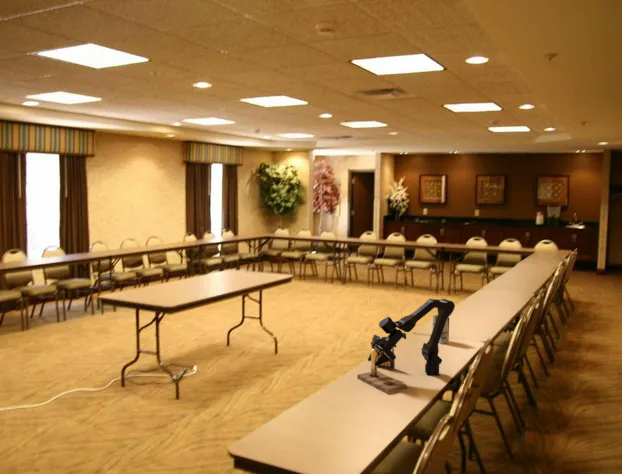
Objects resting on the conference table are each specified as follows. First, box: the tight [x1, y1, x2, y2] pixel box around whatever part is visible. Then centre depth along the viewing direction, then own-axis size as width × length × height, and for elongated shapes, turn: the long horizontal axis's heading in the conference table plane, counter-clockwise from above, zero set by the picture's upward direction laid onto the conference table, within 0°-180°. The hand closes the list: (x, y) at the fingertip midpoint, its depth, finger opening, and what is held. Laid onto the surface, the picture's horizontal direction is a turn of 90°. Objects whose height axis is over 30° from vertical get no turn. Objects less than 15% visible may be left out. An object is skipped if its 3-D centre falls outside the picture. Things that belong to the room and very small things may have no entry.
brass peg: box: [370, 348, 378, 378], centre depth 278 cm, size 3×3×16 cm
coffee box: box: [432, 314, 450, 345], centre depth 349 cm, size 9×6×16 cm
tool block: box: [356, 370, 408, 395], centre depth 273 cm, size 24×12×2 cm, turn 30°
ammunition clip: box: [377, 347, 396, 370], centre depth 298 cm, size 11×2×12 cm, turn 62°
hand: (371, 363), depth 278 cm, fingers open, 8 cm apart
